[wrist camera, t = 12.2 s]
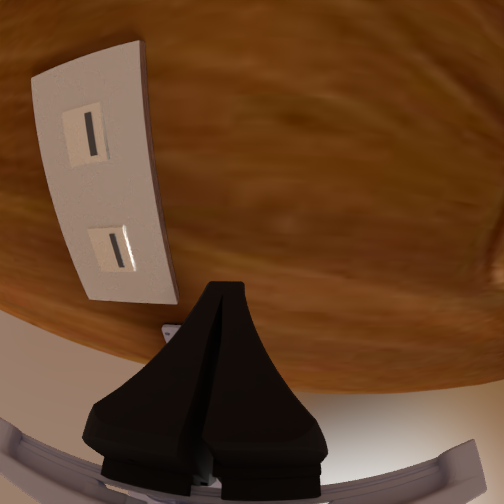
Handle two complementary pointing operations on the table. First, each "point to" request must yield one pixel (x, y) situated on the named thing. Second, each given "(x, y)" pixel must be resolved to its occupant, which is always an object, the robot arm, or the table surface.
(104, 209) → the white slotted plate
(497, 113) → the table surface
